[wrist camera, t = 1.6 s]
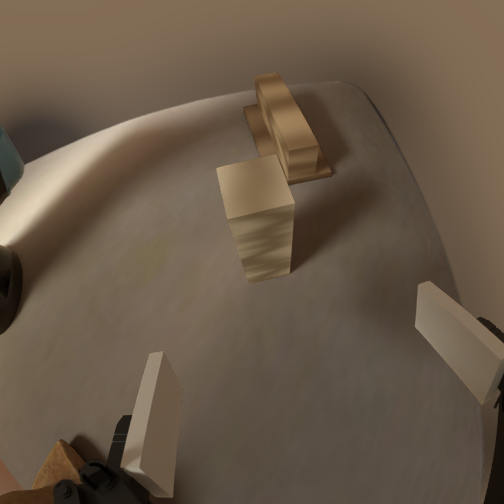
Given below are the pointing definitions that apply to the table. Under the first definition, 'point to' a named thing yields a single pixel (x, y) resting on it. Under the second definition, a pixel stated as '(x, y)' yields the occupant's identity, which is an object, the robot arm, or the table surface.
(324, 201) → the table surface
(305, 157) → the ridge
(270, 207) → the block
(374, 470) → the table surface
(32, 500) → the tan upright curved piece
